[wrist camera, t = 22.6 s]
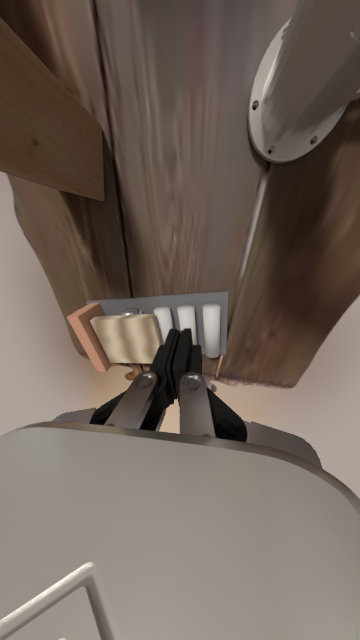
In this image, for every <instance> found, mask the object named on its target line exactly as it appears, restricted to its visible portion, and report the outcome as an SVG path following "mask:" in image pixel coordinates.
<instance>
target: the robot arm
mask: <svg viewBox="0 0 360 640" xmlns="http://www.w3.org/2000/svg"><path fill="white" fill-rule="evenodd" d="M359 98H360V0H298V2H297V4H296V7H295V10H294V12H293V15H292V17H291V18H290V19H289V20H288V21H287V22H286V23H285V24H284V25H283V27H282V28H281V29H280V30H279V32H278V33H277V34H276V36H275V37H274V39H273V40H272V42H271V43H270V45H269V47H268V49H267V51H266V52H265V54H264V56H263V58H262V60H261V63H260V65H259V68H258V70H257V73H256V76H255V79H254V82H253V85H252V89H251V93H250V98H249V103H248V113H247V121H248V131H249V137H250V140H251V142H252V145H253V147H254V149H255V150H256V152H257V153H258V154H259V155H260V156H261V157H262V158H263V159H265V160H267V161H269V162H272V163H278V164H279V163H287V162H290V161H294V160H296V159H298V158H300V157H302V156H304V155H305V154H306V153H308V152H309V151H310V150H312V149H313V148H314V147H315V146H317V145H318V144H319V143H320V142H321V141H322V140H323V139H324V138H325V137H326V136H327V135H328V134H329V132H330V131H331V130H332V129H333V128H334V126H335V125H336V123H337V122H338V121H339V119H340V118H341V116H342V114H343V113H344V111H345V109H346V107H347V105H348V104H349V103H350V102H351V101H352V100H356V99H359ZM253 108H255V111H254V110H253ZM310 142H312V144H310ZM268 151H270V152H271V154H269V153H268ZM177 397H178V402H179V406H180V434H176V433H167V432H159V430H160V427H161V424H162V421H163V419H164V416H165V412H166V408H167V407H169V406H170V404H174V399H177ZM0 640H360V499H359V498H358V497H357V496H356V494H355V493H354V492H352V490H350V489H349V488H348V487H347V486H346V485H345V484H343V483H342V482H341V481H340V480H338V479H337V478H336V477H334V476H333V475H331V474H330V473H328V472H326V471H325V470H324V469H322V466H321V463H320V459H319V458H318V455H317V453H316V451H315V450H314V449H313V448H312V446H311V445H310V444H309V443H308V442H306V441H305V440H304V439H302V438H300V437H298V436H296V435H293V434H290V433H287V432H283V431H280V430H277V429H274V428H271V427H268V426H264V425H261V424H258V423H255V422H251V423H249V422H246V421H243V420H242V419H241V418H240V417H239V416H238V415H237V414H236V413H235V412H234V411H233V410H232V409H231V408H230V407H228V406H227V405H226V404H225V403H224V402H223V401H222V400H221V399H220V398H218V397H217V396H216V395H215V394H214V393H213V392H212V391H211V390H210V389H209V388H208V387H206V383H205V379H204V377H203V376H202V349H201V345H193V340H192V330H191V328H184V330H181V334H180V330H177V329H170V330H169V332H168V335H167V338H166V340H165V343H164V345H160V346H159V348H158V350H157V353H156V355H155V357H154V360H153V362H152V365H151V367H150V370H149V371H144V372H142V373H140V374H139V375H137V376H136V378H135V379H134V380H133V382H132V384H131V385H130V386H129V388H128V389H127V390H126V391H125V392H123V393H121V394H120V395H118V396H117V397H115V398H113V399H112V400H110V401H109V402H107V403H105V404H104V405H102V406H101V407H100V408H98V409H96V408H91V409H85V410H79V411H73V412H67V413H64V414H61V415H59V416H58V417H56V418H55V419H54V420H53V421H51V422H50V421H49V422H40V423H35V424H30V425H27V426H24V427H21V428H18V429H15V430H13V431H10V432H8V433H6V434H4V435H2V436H1V437H0Z"/></svg>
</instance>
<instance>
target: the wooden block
mask: <svg viewBox="0 0 360 640" xmlns="http://www.w3.org/2000/svg"><path fill="white" fill-rule="evenodd" d="M0 171H2V172H5V173H7V174H11V175H14V176H17V177H20V178H23V179H26V180H29V181H32V182H35V183H38V184H42V185H45V186H48V187H51V188H54V189H57V190H61V191H64V192H68V193H72V194H76V195H80V196H84V197H88V198H92V199H96V200H99V201H104V200H105V191H104V167H103V142H102V128H101V125H100V124H99V123H98V122H97V121H96V120H95V119H94V118H93V117H92V116H91V114H90V113H89V112H88V111H87V110H86V109H85V108H84V107H83V106H82V105H81V104H80V103H79V102H78V100H77V99H76V98H75V97H74V96H73V95H72V94H71V93H70V92H69V91H68V90H67V89H66V88H65V86H64V85H63V84H62V83H61V82H60V81H59V80H58V79H57V78H56V77H55V76H54V75H53V74H52V72H51V71H50V70H49V69H48V68H47V67H46V66H45V65H44V64H43V63H42V62H41V61H40V60H39V58H38V57H37V56H36V55H35V54H34V53H33V52H32V51H31V50H30V49H29V48H28V47H27V46H26V44H25V43H24V42H23V41H22V40H21V39H20V38H19V37H18V36H17V35H16V34H15V33H14V32H13V30H12V29H11V28H10V27H9V26H8V25H7V24H6V23H5V22H4V21H3V20H2V19H1V17H0Z"/></svg>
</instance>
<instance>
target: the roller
mask: <svg viewBox="0 0 360 640" xmlns="http://www.w3.org/2000/svg"><path fill="white" fill-rule="evenodd" d="M121 315H138V312H137V308H134V307H132V308H127V309H124V310H123V311H121Z"/></svg>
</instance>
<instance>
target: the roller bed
mask: <svg viewBox="0 0 360 640" xmlns="http://www.w3.org/2000/svg"><path fill="white" fill-rule="evenodd" d="M228 294H229V292H228V291H221V292H207V293H193V294H179V295H165V296H151V297H136V298H122V299H108V300H94V301H87V302H86V303H87V305H86V306H85V307H83V308H81V309H80V310H78V311H76V312H74V313H73V314H71V315H69V316H68V317H67V319H68V320H69V322H70V324H71V326H72V328H73V329H74V331H75V333H76V335H77V336H78V338H79V340H80V342H81V343H82V345H83V347H84V349H85V351H86V352H87V354H88V356H89V358H90V359H91V361H92V363H93V365H94V366H95V368H96V370H97V371H98V372H107V370H108V369H109V368H110V366H111V365H112V364H113V363H110V361H109V359H108V357H107V355H106V353H105V351H104V349H103V347H102V345H101V343H100V341H99V338H98V336H97V334H96V332H95V330H94V328H93V326H92V324H91V322H90V320H91V319H93V318H94V317H98V316H119V315H121V311H123V310H124V309H127V308H132V307H134V308H137V312H138V315H141V314H155V316H156V321H157V325H158V329H159V334H160V338H161V342H162V345H164V343H165V340H166V338H167V335H168V332H169V330H170V329H177V330H180V334H181V330H184V328H191V330H192V340H193V345H201V349H202V354H206V356H208V357H210V358H216V357H218V356H219V355H226V345H227V320H228Z"/></svg>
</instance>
